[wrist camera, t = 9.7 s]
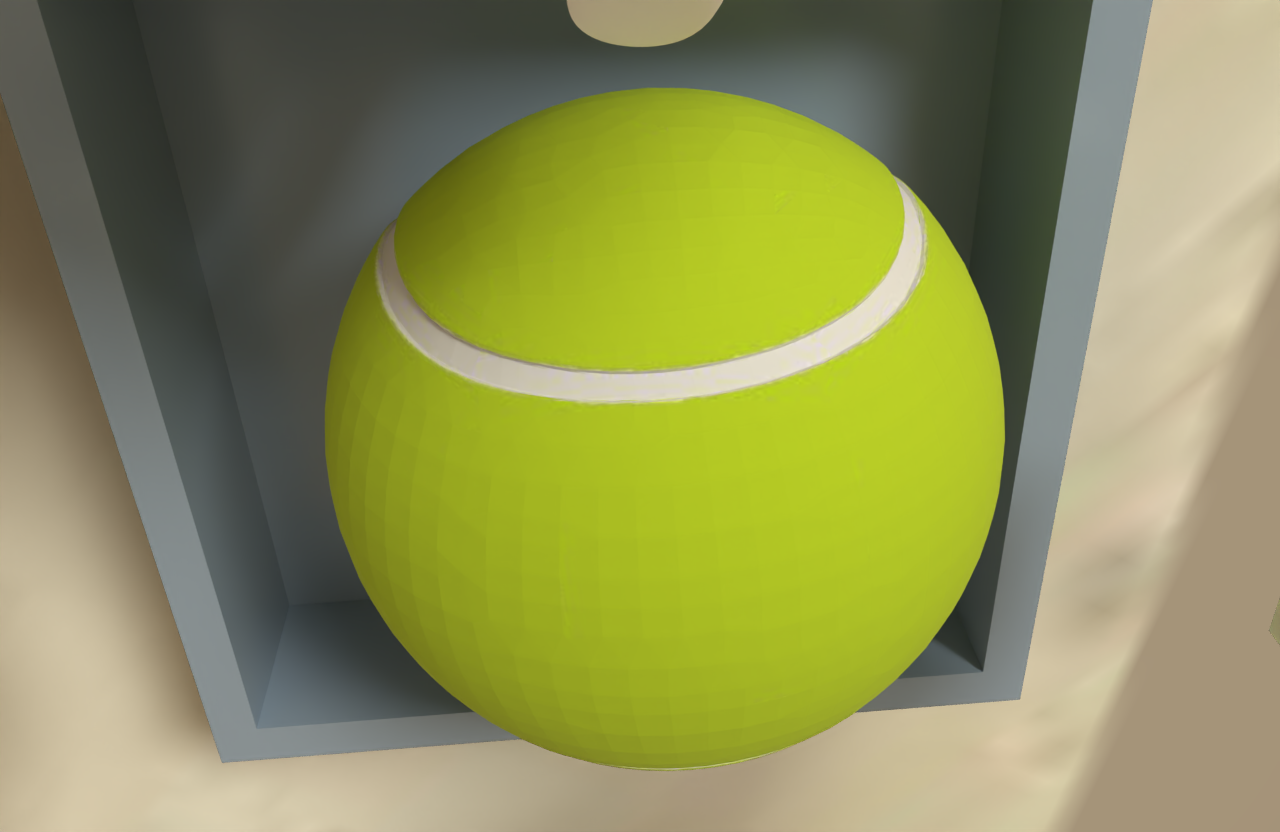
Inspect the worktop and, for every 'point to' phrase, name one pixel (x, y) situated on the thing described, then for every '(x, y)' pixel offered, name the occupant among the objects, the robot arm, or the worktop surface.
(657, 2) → the mug
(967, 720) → the worktop surface
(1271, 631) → the robot arm
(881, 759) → the worktop surface
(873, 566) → the tennis ball
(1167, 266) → the worktop surface
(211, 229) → the dish
